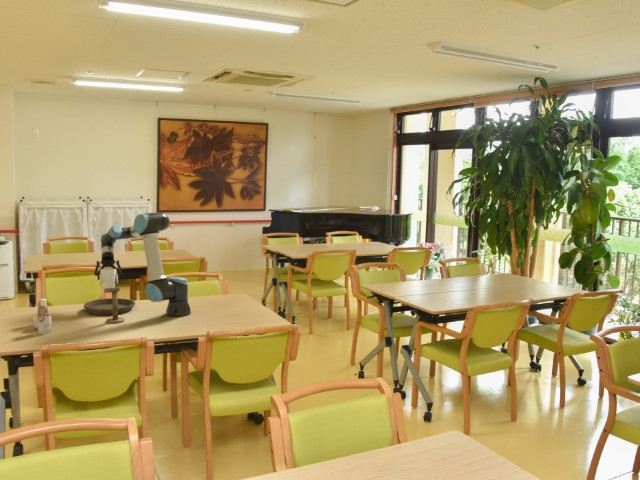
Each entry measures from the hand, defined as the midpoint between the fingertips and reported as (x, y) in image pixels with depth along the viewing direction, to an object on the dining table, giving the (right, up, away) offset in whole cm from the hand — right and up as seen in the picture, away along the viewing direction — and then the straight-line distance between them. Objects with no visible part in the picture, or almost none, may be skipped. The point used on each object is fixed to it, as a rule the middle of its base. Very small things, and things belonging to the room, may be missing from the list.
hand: (108, 283), depth 369 cm
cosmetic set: (-24, -23, -38) cm, 50 cm away
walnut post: (+11, -21, -21) cm, 32 cm away
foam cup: (-1, -5, +4) cm, 6 cm away
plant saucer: (-1, -18, +6) cm, 19 cm away
